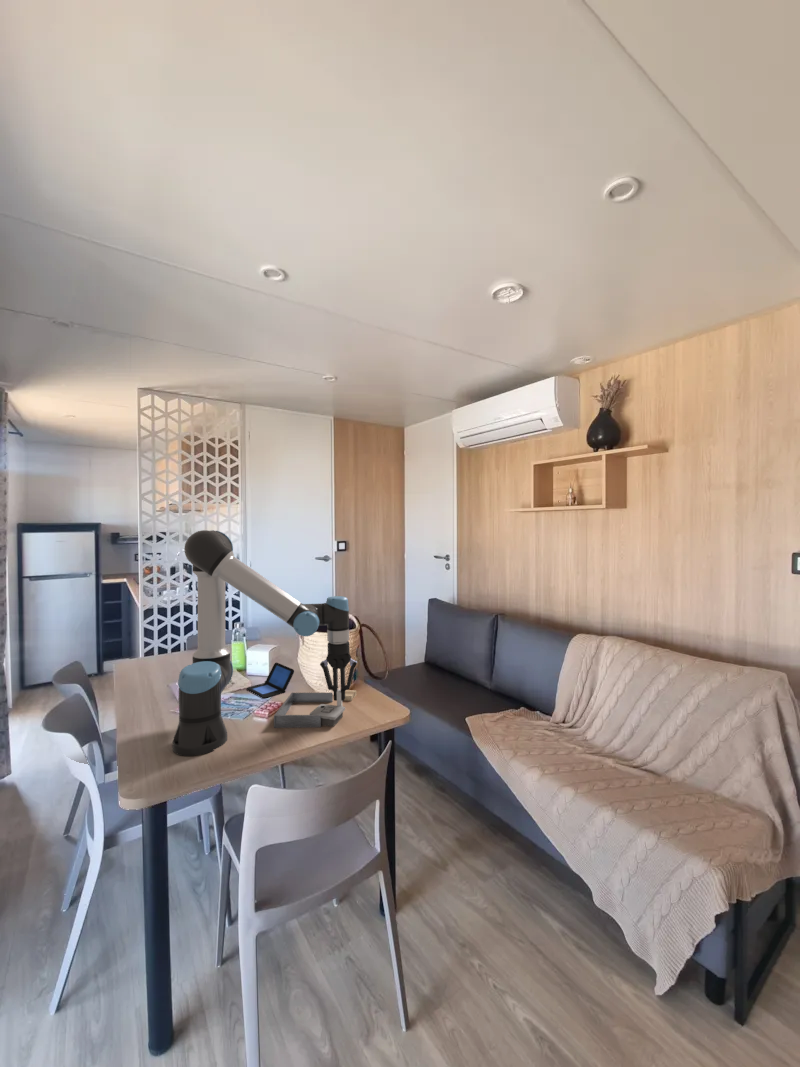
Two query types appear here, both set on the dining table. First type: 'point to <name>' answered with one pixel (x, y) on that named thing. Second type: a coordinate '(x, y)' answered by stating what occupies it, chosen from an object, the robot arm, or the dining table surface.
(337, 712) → the electrical switch
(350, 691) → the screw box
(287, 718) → the socket recess
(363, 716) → the dining table surface
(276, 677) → the handheld game console
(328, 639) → the robot arm
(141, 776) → the dining table surface
